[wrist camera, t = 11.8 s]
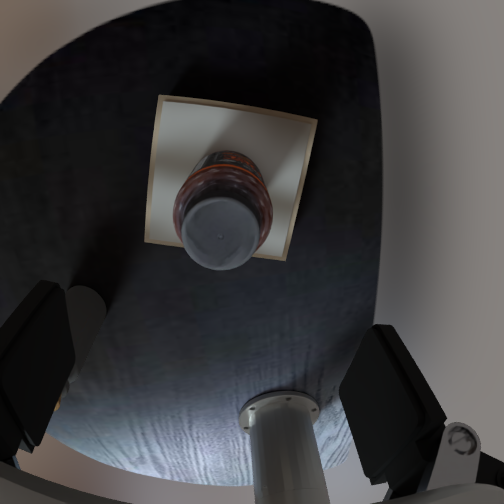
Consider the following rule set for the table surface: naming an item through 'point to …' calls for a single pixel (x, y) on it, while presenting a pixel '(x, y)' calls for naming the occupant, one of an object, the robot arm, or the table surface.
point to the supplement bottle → (223, 211)
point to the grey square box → (233, 139)
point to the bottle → (82, 326)
